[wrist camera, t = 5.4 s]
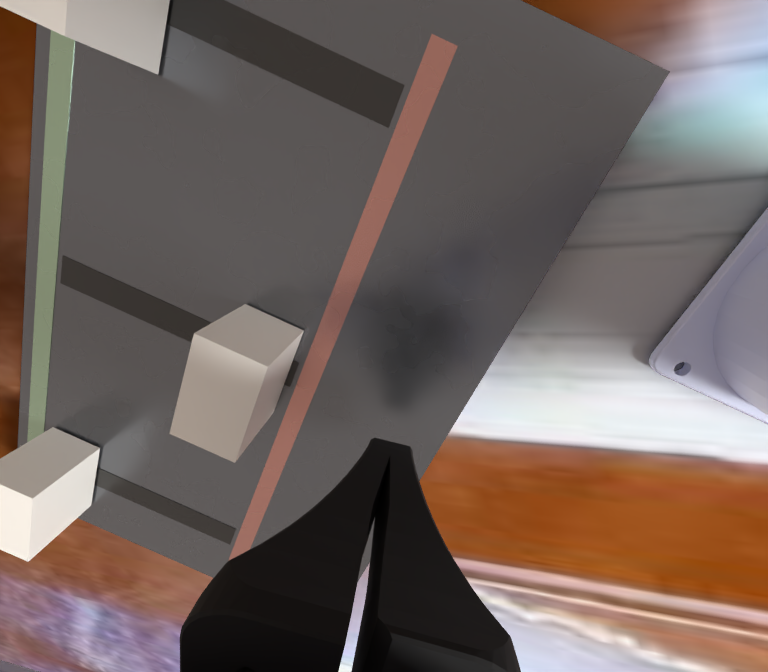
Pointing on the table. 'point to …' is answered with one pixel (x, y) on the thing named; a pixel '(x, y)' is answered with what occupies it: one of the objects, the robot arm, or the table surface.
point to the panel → (299, 235)
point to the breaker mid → (233, 380)
